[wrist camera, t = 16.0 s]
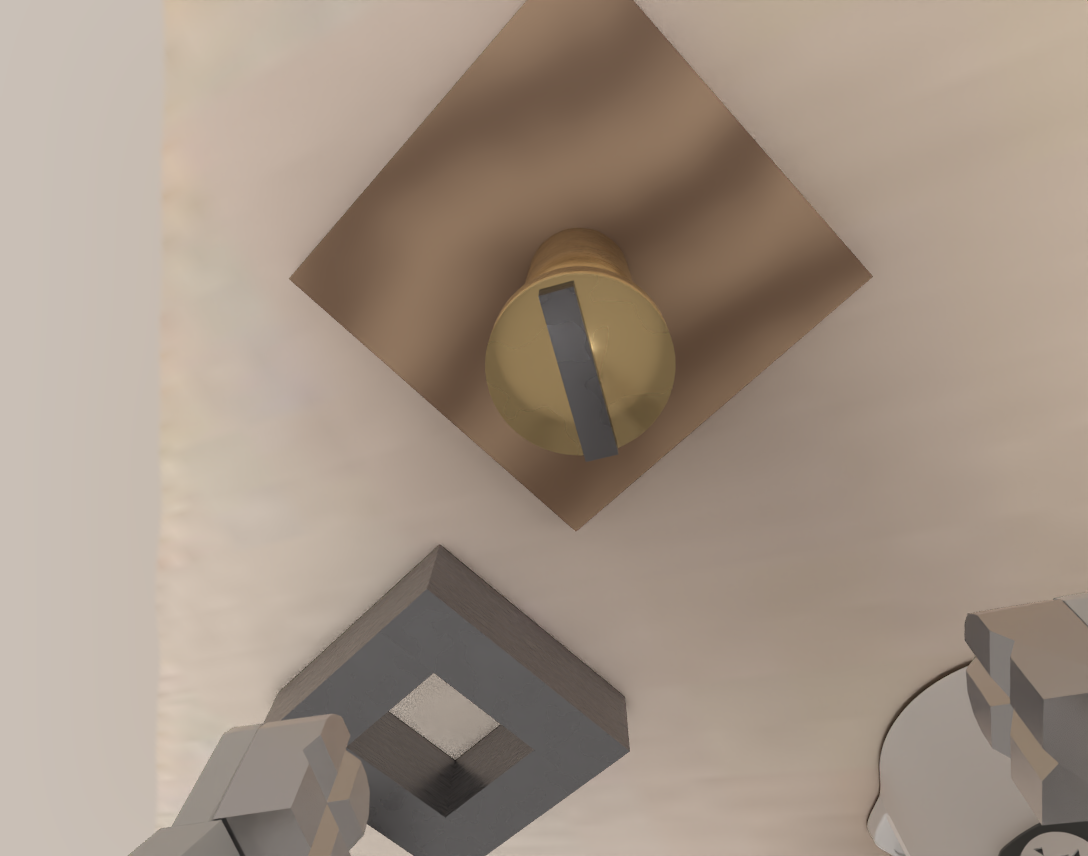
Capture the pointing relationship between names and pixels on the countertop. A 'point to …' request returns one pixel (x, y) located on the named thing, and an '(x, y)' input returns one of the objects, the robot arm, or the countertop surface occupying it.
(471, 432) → the walnut board
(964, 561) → the countertop surface
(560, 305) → the brass peg
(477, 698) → the metal socket
